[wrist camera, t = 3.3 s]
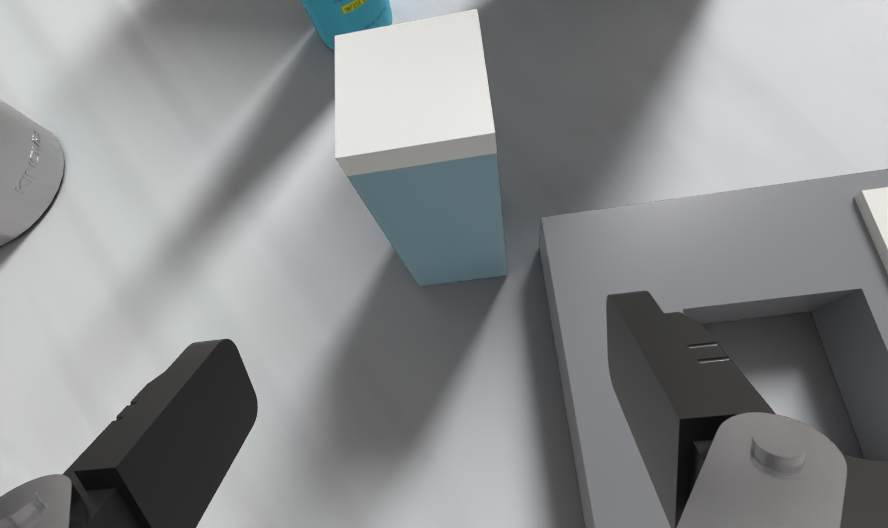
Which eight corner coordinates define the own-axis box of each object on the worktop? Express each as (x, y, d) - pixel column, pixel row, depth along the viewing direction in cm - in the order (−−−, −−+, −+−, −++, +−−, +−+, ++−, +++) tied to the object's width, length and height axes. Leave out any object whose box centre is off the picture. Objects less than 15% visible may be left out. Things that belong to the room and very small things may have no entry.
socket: (602, 627, 19) (621, 673, 15) (538, 247, 25) (541, 212, 21) (1068, 605, 17) (1220, 650, 13) (883, 201, 23) (954, 154, 19)
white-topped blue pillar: (418, 286, 25) (335, 158, 14) (413, 207, 26) (334, 35, 15) (507, 275, 24) (495, 132, 13) (496, 195, 26) (477, 8, 15)
